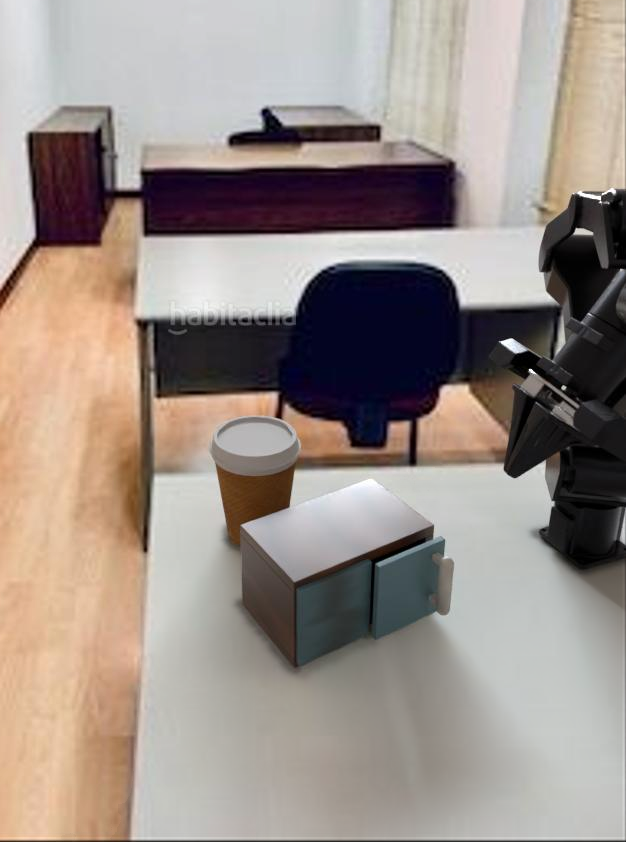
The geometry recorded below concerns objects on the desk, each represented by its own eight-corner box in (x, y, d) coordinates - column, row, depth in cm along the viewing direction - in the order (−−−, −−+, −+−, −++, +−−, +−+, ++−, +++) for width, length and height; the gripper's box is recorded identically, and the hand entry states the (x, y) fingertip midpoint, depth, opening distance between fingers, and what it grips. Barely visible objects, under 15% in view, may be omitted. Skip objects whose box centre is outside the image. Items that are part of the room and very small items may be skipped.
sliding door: (435, 606, 70) (441, 535, 67) (456, 624, 68) (463, 552, 65) (371, 636, 67) (374, 563, 64) (391, 656, 65) (395, 582, 62)
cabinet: (368, 552, 79) (371, 477, 75) (432, 609, 71) (439, 528, 68) (242, 604, 72) (239, 524, 69) (297, 673, 64) (298, 587, 61)
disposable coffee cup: (295, 565, 77) (295, 462, 73) (203, 555, 79) (198, 454, 75) (305, 511, 86) (306, 416, 81) (223, 503, 88) (219, 410, 83)
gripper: (765, 420, 58) (636, 574, 62) (617, 338, 76) (523, 461, 79) (666, 354, 55) (536, 519, 59) (536, 284, 73) (442, 414, 76)
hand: (509, 474), depth 68 cm, fingers closed
